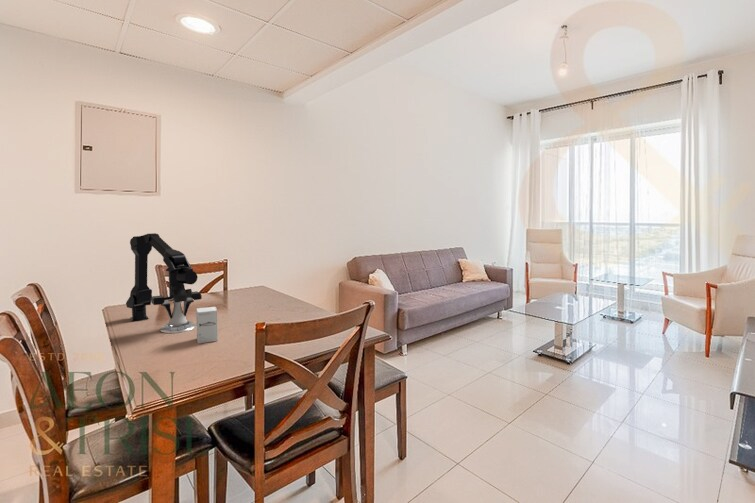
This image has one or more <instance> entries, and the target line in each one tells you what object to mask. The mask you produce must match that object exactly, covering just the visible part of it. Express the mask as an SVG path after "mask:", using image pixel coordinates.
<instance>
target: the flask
mask: <svg viewBox="0 0 755 503" xmlns="http://www.w3.org/2000/svg"><path fill="white" fill-rule="evenodd" d="M182 302H183V301H181V302H174V301H173V302H172V304H173V310H172V312H171V318H170V317H169V321H168V322H167V323H168V325H171V326H179V325H183V324H186V323H187V322H188V321H189V320H187V317H186V316H185V315H184V310H183V309H182Z"/></svg>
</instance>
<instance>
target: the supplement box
mask: <svg viewBox="0 0 755 503" xmlns="http://www.w3.org/2000/svg"><path fill="white" fill-rule="evenodd" d="M195 311H196V313H195V314H196V315H195V316H196V319H195V320H196V338H197V340H196V341H197V344H203V343H211V342H219V341H218V340H219V339H218V337H219V334H218V332H219V331H218V310H217V307H216V306H211V307H197V308H196V309H195Z"/></svg>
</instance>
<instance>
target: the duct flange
mask: <svg viewBox="0 0 755 503" xmlns="http://www.w3.org/2000/svg"><path fill="white" fill-rule="evenodd" d="M187 321H188V322H187V323H186V324H183V325H179V326H171V325H168V323H169V322H167V323H165V324H163V326H162V327H161V328H160V329H159V330H160V332H161V333H164V334H179V333H185V332H188V331H191V330H193V329H194V330H195V329H197V323H193V322H192V321H191V320H187Z"/></svg>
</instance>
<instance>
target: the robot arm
mask: <svg viewBox="0 0 755 503" xmlns="http://www.w3.org/2000/svg"><path fill="white" fill-rule="evenodd" d="M129 245H130V250H131V251H132V253H133V254H134V285H133V287H132V289H131V290H130V295H129V297H128V298H127V300H126V302H125V305H126V308H128V309H131V317H130V320H131V322H135V321H143V320H144V321H145V320H148V319H149V317H148V316H147V306H150V305H151V304H152V305H153V306H159V305H160V306H163V307H164V308H165V310H166V312H167V315H168V317H169V319H170V318H171V315H172V311H171V303H170V302H172V301H173V302H181V301H182V302H183V313H184V315H185V317H186V316H187V313H188V310H189V308H190V305H191V304H192V303H194V302H195V301H199V300H202V293H201V292H199V291H197V290H195V291H193V290H192V288H187V289H185V285H194V284H196V282H197V281H198V274H197V273H196V271H194V268H192V267H191V264H190V262H189V261H188V259H187V257H186V255H185V254H184V253H183V252H182V251H180V250H177V249H174V248H172V247H171V246H170V245H169V244H168V243H167V242H166V241H164V239H163V238H161V237H160V235H159V233H155V232H154V233H146V234H142V235H140V236H139V235H137V236H133V237H131V238H130V240H129ZM153 249H154V250H155V251H157V252H158V253H159V254H160V256H162V260H163V263H164V264H165V265H166V266H167V268H166V269H165V272H168V290H169V293H168V294H169V296H163V295H153V289H150V286H148V265H149V264H148V258H149V256H148V255H149V254H150V253H151V251H152V250H153ZM182 302H181V303H182Z"/></svg>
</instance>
